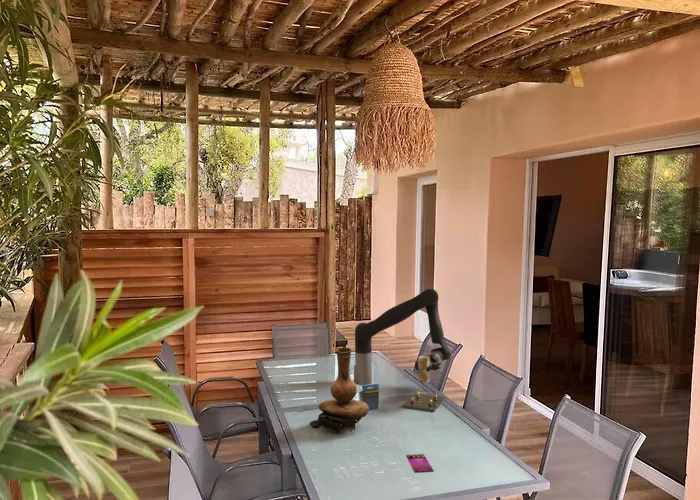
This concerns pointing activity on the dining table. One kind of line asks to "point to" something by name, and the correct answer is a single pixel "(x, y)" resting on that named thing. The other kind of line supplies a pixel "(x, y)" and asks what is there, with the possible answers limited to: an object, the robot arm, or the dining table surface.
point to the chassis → (423, 402)
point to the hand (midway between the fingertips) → (422, 369)
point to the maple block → (423, 369)
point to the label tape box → (370, 396)
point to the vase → (341, 399)
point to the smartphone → (419, 463)
